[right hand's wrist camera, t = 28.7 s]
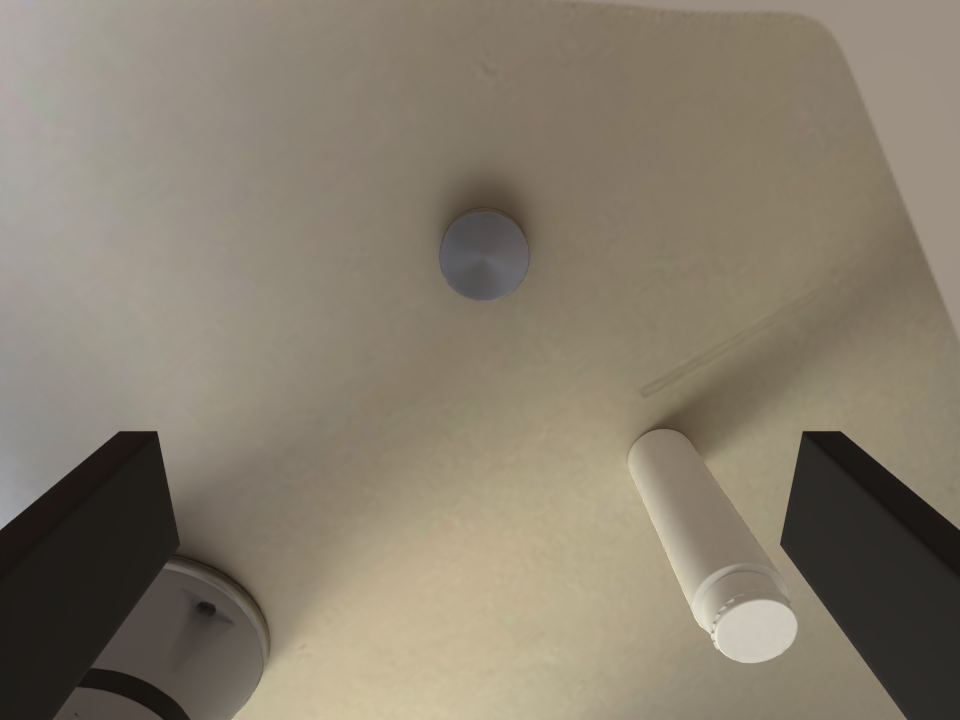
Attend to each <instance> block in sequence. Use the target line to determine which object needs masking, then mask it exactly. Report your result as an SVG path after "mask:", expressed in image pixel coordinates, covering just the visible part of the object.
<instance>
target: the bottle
mask: <svg viewBox="0 0 960 720" xmlns="http://www.w3.org/2000/svg"><path fill="white" fill-rule="evenodd" d="M628 467H629V470H630V472H631V474H632V477H633V479H634V481H635V483H636V486H637V488H638V490H639V493H640V495H641V497H642V499H643V502H644V504H645V506H646V508H647V511H648V513H649V515H650V517H651V520H652V522H653V524H654V526H655V529H656V531H657V533H658V535H659V538H660V540H661V542H662V545H663V547H664V549H665V551H666V554H667V556H668V558H669V560H670V563H671V565H672V567H673V569H674V572H675V574H676V576H677V578H678V581H679V583H680V585H681V587H682V590H683V592H684V594H685V597H686V599H687V601H688V603H689V606H690V608H691V610H692V612H693V615H694V617H695V619H696V621H697V622H698V624H699V625H700V626H701V627H702V628H703V629H704V630H706V631H707V632H709V633H710V634H711V639H712V641H713V643H714V645H715V647H716V649H720V650H721V652H722V653H724V654H725V655H726V656H727V657H729V658H731V659H733V660H736V661H739V662H744V663H757V662H763V661H767V660H770V659H772V658H774V657H776V656H778V655H780V654H781V653H783V652H784V651H785V650H786V649H787V648H788V647H789V646H790V645H791V644H792V642H793V641H794V639H795V637H796V635H797V631H798V621H797V617H796V615H795V613H794V611H793V610H792V608H791V607H790V605H789V604H788V603H790V600H789V599H788V590H787V586H786V583H785V581H784V580H783V578H782V577H781V575H780V574H779V572H778V571H777V569H776V568H775V566H774V565H773V563H772V562H771V560H770V559H769V557H768V556H767V554H766V553H765V551H764V550H763V549H762V547H761V546H760V544H759V543H758V541H757V540H756V538H755V537H754V535H753V534H752V532H751V531H750V529H749V528H748V526H747V525H746V523H745V522H744V521H743V519H742V518H741V516H740V515H739V513H738V512H737V510H736V509H735V507H734V506H733V504H732V503H731V501H730V500H729V498H728V497H727V495H726V494H725V493H724V491H723V490H722V488H721V487H720V485H719V484H718V482H717V481H716V479H715V478H714V476H713V475H712V473H711V472H710V470H709V469H708V467H707V466H706V465H705V463H704V462H703V460H702V459H701V457H700V456H699V454H698V453H697V451H696V450H695V448H694V447H693V445H692V444H691V442H690V441H689V440H688V438H687V437H685V436H684V435H683V434H681V433H679V432H677V431H675V430H670V429H657V430H653V431H650V432H648V433H646V434H644V435H643V436H641V437H640V438H639V439H638V440H637V441H636V442H635V443H634V444H633V446H632V447H631V449H630V452H629V455H628Z"/></svg>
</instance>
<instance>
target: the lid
mask: <svg viewBox="0 0 960 720" xmlns="http://www.w3.org/2000/svg"><path fill="white" fill-rule="evenodd" d="M439 258H440V266H441V270H442V273H443V275H444V277H445V279H446V281H447V282H448V284H449V285H450V286H451V287H452V288H453V289H454V290H455V291H456V292H457V293H459V294H460V295H462V296H464V297H466V298H469V299H471V300H476V301H493V300H497V299H500V298H502V297H505V296H507V295H508V294H510V293H511V292H512V291H514V290H515V289H516V288H517V287H518V286H519V284H520V283H521V282H522V280H523V278H524V277H525V275H526V272H527V269H528V265H529V248H528V244H527V241H526V239H525V236H524V234H523V232H522V230H521V228H520V226H519V225H518V224H517V223H516V221H515V220H514V219H513V218H511V217H510V216H509V215H507V214H506V213H504V212H502V211H499V210H496V209H492V208H477V209H472V210H469V211H467V212H465V213H463V214H461V215H460V216H458V217H457V218H456V219H455V220H454V221H453V222H452V223H451V224H450V226H449V227H448V229H447V231H446V233H445V235H444V238H443V241H442V244H441V248H440V256H439Z"/></svg>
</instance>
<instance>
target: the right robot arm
mask: <svg viewBox="0 0 960 720" xmlns="http://www.w3.org/2000/svg"><path fill="white" fill-rule="evenodd" d="M179 545H180V542H179V537H178V532H177V527H176V522H175V517H174V512H173V507H172V502H171V497H170V493H169V488H168V483H167V478H166V473H165V468H164V463H163V458H162V453H161V448H160V443H159V438H158V433H157V431H119V432H118V433H117V434H116V435H114V436H113V437H112V438H111V439H110V440H108V441H107V442H106V443H105V444H104V445H102V446H101V447H100V448H99V449H98V450H96V451H95V452H94V453H93V454H92V455H90V456H89V457H88V458H87V459H86V460H84V461H83V462H82V463H81V464H80V465H78V466H77V467H76V468H75V469H74V470H72V471H71V472H70V473H69V474H67V475H66V476H65V477H64V478H63V479H61V480H60V481H59V482H58V483H57V484H55V485H54V486H53V487H52V488H51V489H49V490H48V491H47V492H46V493H45V494H43V495H42V496H41V497H40V498H39V499H37V500H36V501H35V502H34V503H33V504H31V505H30V506H29V507H28V508H27V509H25V510H24V511H23V512H22V513H21V514H19V515H18V516H17V517H16V518H15V519H13V520H12V521H11V522H10V523H8V524H7V525H6V526H5V527H4V528H2V529H1V530H0V720H231V719H232V718H233V717H234V715H235V714H236V713H237V712H238V711H239V710H240V709H241V708H242V707H243V706H244V705H245V704H246V702H247V701H248V700H249V698H250V697H251V695H252V693H253V692H254V691H255V689H256V687H257V685H258V683H259V681H260V679H261V676H262V674H263V671H264V669H265V666H266V664H267V660H268V656H269V634H268V630H267V626H266V623H265V621H264V618H263V616H262V614H261V612H260V610H259V609H258V607H257V606H256V604H255V603H254V602H253V600H252V599H251V598H250V596H249V595H248V594H247V593H246V592H245V591H244V590H243V589H242V588H241V587H239V586H238V585H237V584H236V583H235V582H233V581H232V580H231V579H229V578H228V577H227V576H225V575H223V574H222V573H220V572H218V571H217V570H215V569H213V568H211V567H209V566H206V565H204V564H202V563H199V562H196V561H193V560H190V559H187V558H183V557H178V556H173V553H174V552H175V551H176V549H177V548H178V547H179ZM780 545H781V547H782V548H783V549H784V551H785V552H786V553H787V555H788V556H789V558H790V559H791V560H792V562H793V563H794V564H795V566H796V567H797V569H798V570H799V571H800V573H801V574H802V575H803V577H804V578H805V580H806V581H807V582H808V584H809V585H810V586H811V588H812V589H813V591H814V592H815V593H816V595H817V596H818V597H819V599H820V600H821V602H822V603H823V604H824V606H825V607H826V608H827V610H828V611H829V613H830V614H831V615H832V617H833V618H834V619H835V621H836V622H837V624H838V625H839V626H840V628H841V629H842V630H843V632H844V633H845V635H846V636H847V637H848V639H849V640H850V641H851V643H852V644H853V646H854V647H855V648H856V650H857V651H858V652H859V654H860V655H861V657H862V658H863V659H864V661H865V662H866V663H867V665H868V666H869V668H870V669H871V670H872V672H873V673H874V674H875V676H876V677H877V679H878V680H879V681H880V683H881V684H882V685H883V687H884V688H885V690H886V691H887V692H888V694H889V695H890V696H891V698H892V699H893V701H894V702H895V703H896V705H897V706H898V707H899V709H900V710H901V712H902V713H903V714H904V716H905V717H906V718H907V720H960V530H959V529H958V528H956V527H955V526H954V525H953V524H952V523H950V522H949V521H948V520H947V519H945V518H944V517H943V516H942V515H941V514H939V513H938V512H937V511H936V510H935V509H933V508H932V507H931V506H930V505H929V504H927V503H926V502H925V501H924V500H923V499H921V498H920V497H919V496H918V495H917V494H915V493H914V492H913V491H912V490H911V489H909V488H908V487H907V486H906V485H905V484H903V483H902V482H901V481H900V480H899V479H897V478H896V477H895V476H894V475H893V474H891V473H890V472H889V471H888V470H886V469H885V468H884V467H883V466H882V465H880V464H879V463H878V462H877V461H876V460H874V459H873V458H872V457H871V456H870V455H868V454H867V453H866V452H865V451H864V450H862V449H861V448H860V447H859V446H858V445H856V444H855V443H854V442H853V441H852V440H850V439H849V438H848V437H847V436H846V435H844V434H843V433H842V432H841V431H803V433H802V438H801V443H800V448H799V453H798V458H797V463H796V468H795V473H794V478H793V483H792V488H791V493H790V497H789V502H788V507H787V512H786V517H785V522H784V527H783V532H782V537H781V542H780Z"/></svg>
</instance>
